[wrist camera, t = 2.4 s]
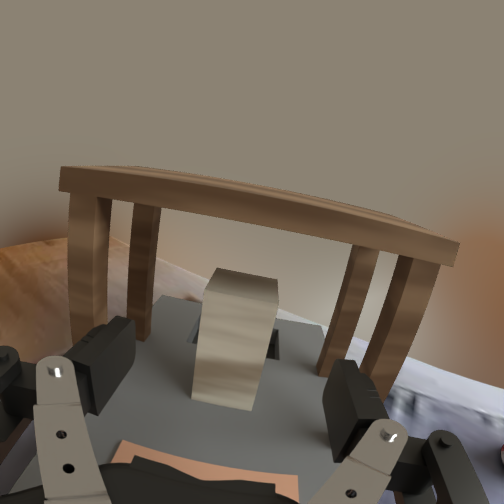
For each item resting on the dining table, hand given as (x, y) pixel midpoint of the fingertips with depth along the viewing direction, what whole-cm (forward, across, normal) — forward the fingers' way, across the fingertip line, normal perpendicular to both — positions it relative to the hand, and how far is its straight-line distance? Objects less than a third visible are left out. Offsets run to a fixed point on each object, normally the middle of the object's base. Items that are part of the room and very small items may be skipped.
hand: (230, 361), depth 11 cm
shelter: (+12, 0, +11) cm, 16 cm away
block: (+12, 0, +11) cm, 16 cm away
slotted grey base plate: (+10, 0, +13) cm, 17 cm away
